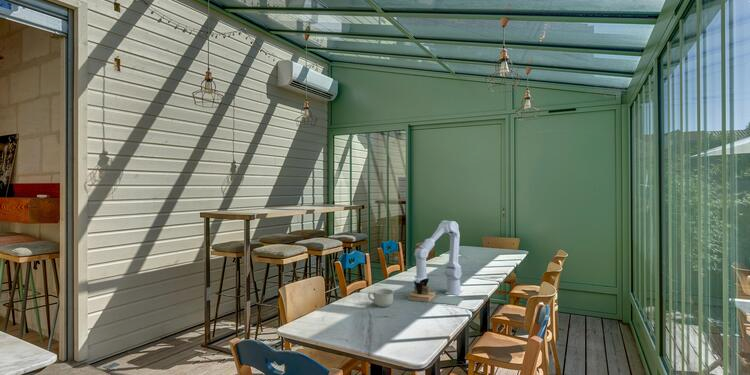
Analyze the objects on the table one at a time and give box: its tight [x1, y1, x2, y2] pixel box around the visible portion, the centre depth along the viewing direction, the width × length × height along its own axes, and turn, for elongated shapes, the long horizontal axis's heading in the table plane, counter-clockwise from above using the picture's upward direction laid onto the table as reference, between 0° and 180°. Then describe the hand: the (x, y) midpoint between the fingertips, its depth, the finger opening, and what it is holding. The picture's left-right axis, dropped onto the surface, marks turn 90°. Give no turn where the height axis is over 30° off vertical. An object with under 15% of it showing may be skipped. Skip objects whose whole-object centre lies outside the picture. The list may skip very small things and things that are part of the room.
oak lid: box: [407, 285, 437, 299], centre depth 227 cm, size 13×13×5 cm
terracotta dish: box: [408, 294, 436, 303], centre depth 227 cm, size 12×12×2 cm
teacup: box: [367, 288, 394, 308], centre depth 214 cm, size 14×11×8 cm
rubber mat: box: [432, 295, 464, 307], centre depth 220 cm, size 14×14×1 cm
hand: (421, 292), depth 227 cm, fingers open, 7 cm apart
